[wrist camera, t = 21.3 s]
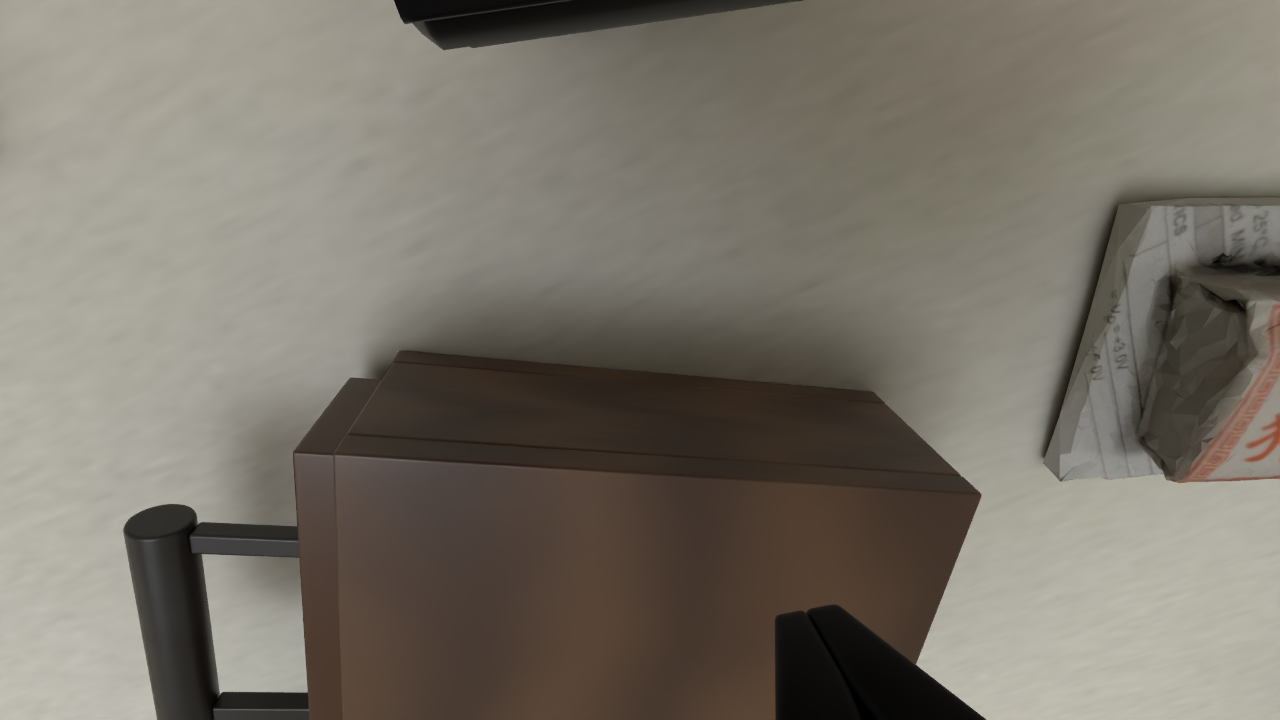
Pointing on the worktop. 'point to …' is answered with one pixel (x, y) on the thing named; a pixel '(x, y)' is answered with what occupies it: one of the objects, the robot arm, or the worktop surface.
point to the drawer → (175, 543)
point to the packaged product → (1179, 348)
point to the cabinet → (620, 538)
